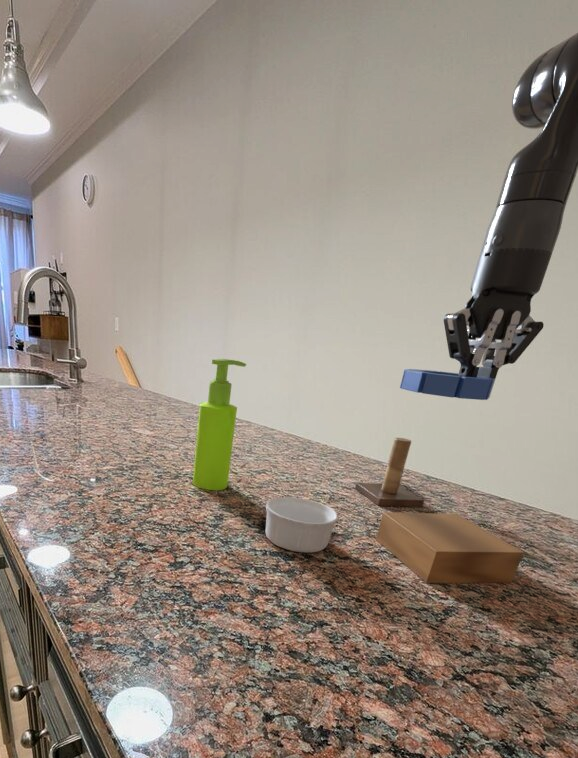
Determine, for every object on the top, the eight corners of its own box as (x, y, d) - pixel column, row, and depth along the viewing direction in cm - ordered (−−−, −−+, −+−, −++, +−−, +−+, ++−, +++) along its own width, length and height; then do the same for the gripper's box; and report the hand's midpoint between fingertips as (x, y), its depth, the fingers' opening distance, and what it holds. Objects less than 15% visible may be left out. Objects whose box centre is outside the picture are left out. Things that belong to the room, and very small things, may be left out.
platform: (448, 540, 62) (457, 513, 60) (511, 583, 52) (524, 552, 50) (375, 539, 60) (382, 512, 58) (426, 583, 50) (437, 551, 48)
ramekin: (279, 520, 63) (284, 491, 61) (340, 540, 59) (347, 509, 57) (249, 539, 56) (253, 507, 55) (315, 564, 52) (323, 530, 50)
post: (395, 490, 81) (410, 435, 77) (422, 507, 74) (440, 446, 70) (354, 488, 80) (368, 432, 76) (378, 505, 72) (394, 444, 69)
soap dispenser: (239, 486, 75) (255, 362, 67) (206, 492, 71) (219, 360, 64) (218, 476, 79) (231, 358, 72) (186, 480, 76) (196, 356, 68)
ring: (450, 390, 66) (456, 372, 65) (508, 401, 57) (515, 381, 56) (386, 385, 64) (391, 367, 64) (434, 396, 55) (440, 375, 54)
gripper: (536, 261, 60) (493, 394, 66) (445, 248, 57) (409, 388, 64) (591, 253, 53) (536, 402, 59) (491, 239, 50) (445, 396, 57)
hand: (471, 394), depth 61 cm, fingers closed on ring, 2 cm apart
